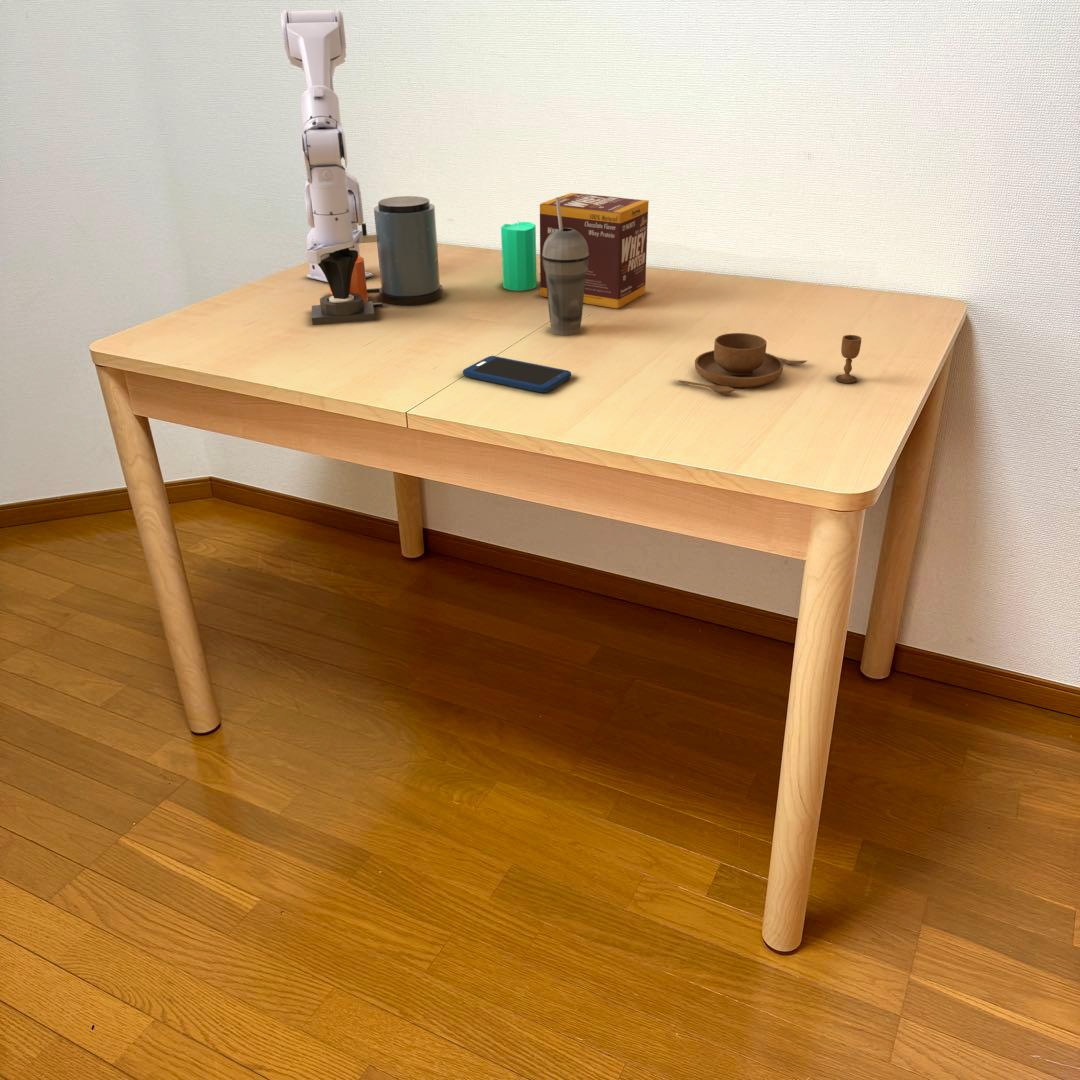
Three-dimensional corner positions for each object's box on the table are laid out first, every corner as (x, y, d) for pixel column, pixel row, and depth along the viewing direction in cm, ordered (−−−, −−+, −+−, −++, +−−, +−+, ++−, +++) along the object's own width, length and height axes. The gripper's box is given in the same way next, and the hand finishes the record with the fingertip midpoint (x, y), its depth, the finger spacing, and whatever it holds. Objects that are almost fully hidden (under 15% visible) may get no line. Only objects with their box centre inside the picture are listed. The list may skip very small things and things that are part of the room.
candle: (538, 281, 183) (537, 212, 177) (534, 290, 177) (533, 220, 171) (505, 281, 183) (502, 212, 177) (500, 290, 178) (498, 220, 172)
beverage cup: (585, 339, 154) (585, 203, 144) (538, 337, 156) (535, 202, 146) (592, 324, 160) (593, 193, 151) (547, 322, 162) (545, 191, 152)
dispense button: (330, 312, 164) (329, 301, 163) (330, 305, 167) (328, 294, 166) (355, 310, 164) (354, 300, 164) (354, 303, 168) (353, 293, 167)
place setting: (733, 348, 149) (736, 309, 146) (862, 378, 138) (868, 336, 135) (667, 383, 138) (669, 341, 135) (802, 418, 127) (808, 373, 124)
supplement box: (619, 309, 167) (621, 211, 159) (539, 296, 174) (537, 202, 167) (647, 293, 175) (650, 199, 167) (569, 281, 182) (569, 191, 174)
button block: (312, 325, 163) (310, 306, 161) (312, 312, 169) (310, 294, 167) (375, 320, 164) (373, 302, 163) (373, 308, 170) (371, 290, 169)
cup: (323, 302, 173) (318, 261, 170) (349, 293, 178) (344, 253, 174) (349, 308, 170) (345, 266, 167) (375, 299, 175) (371, 258, 171)
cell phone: (490, 359, 147) (490, 354, 146) (573, 376, 140) (573, 371, 140) (460, 375, 141) (460, 370, 141) (545, 393, 135) (545, 388, 134)
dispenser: (330, 311, 169) (318, 212, 161) (330, 293, 178) (318, 199, 170) (446, 303, 172) (439, 205, 164) (439, 286, 181) (433, 193, 173)
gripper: (332, 200, 165) (342, 283, 172) (283, 219, 154) (296, 308, 160) (371, 203, 163) (379, 287, 170) (324, 222, 151) (335, 312, 158)
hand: (341, 297), depth 165 cm, fingers closed, pressing on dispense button
